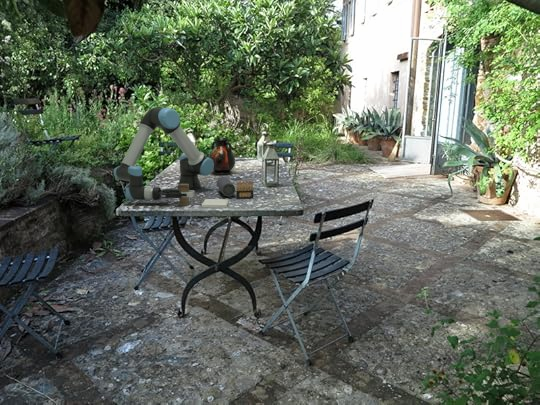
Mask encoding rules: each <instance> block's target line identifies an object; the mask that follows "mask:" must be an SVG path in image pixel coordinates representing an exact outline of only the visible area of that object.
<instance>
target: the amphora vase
mask: <svg viewBox="0 0 540 405" xmlns="http://www.w3.org/2000/svg"><path fill="white" fill-rule="evenodd" d="M212 140H213V142H212V144H211V151H210V153H209V154H208V158H210V159H212V160H213V162H214V169H213V171H212V173H211V174H212V175H214V176H229V175H232V174H233V171H232V170H233V169H234V168H235V166H236V157H235V154H234V152H233V150H232V145H231V142H229V141H230V138H228V137H215V138H213V139H212Z"/></svg>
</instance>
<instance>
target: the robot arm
mask: <svg viewBox="0 0 540 405" xmlns="http://www.w3.org/2000/svg"><path fill="white" fill-rule="evenodd" d="M180 117H181V116H180V113H178V111H176V109H174V108H170V107H152V108H150V109H149V110H148V111H147V112H146V113H145V114H143V116H142V118H141V120H140V122H139V124H138V126H139V127H138V129H137V131H136V134H135V135H134V137H133V139H132V142H131V143H130V145H129V148H128V149H127V151H126V153H125V155H124V158H123V159H122V161H121V163H120V165H119V166H116V167H115V168H114V169H113V176H114V177H115V178H116V179H118V180H122V181H125V182H128V183H129V185H128V186H127V187H126V188H125V194H124V195H125V197H126V199H127V200H133V201H138V200H139V201H140V200H141V201H143V200H144V201H146V200H147V201H149V202H150V201H152V200H153V201H160V200H161V199H179V197H180V199H181V197H189V198H193V197H194V196H195V190H198V189H201V186H202V185H201V182H200V179H199V175H200V176H209V175H211V174H212V171H213V169H214V162H213V160H212V159H210V158H209V157H207V156H206V154H205V153H204V152H203V151H200V150H199V148H197V147H196V145H195V144H194V142H193V141H192V140H191V138H190V137H189V136H188V134H187V133H186V132H185V130H184V129H183V128H182V126H181V120H180ZM157 128H159V129H160V130H162V132H163V133H164V135H169V136H170V138H171V139H172V140H173V141H174V142H175V144H176V145H177V147H178V148H179V149H180V150H181V151H182V153H183V154H181V155H180V156H179V175H180V176H179V182H178V184H177V188H178V189H174V188H173V189H172V188H171V189H168V188H166V189H163V190H162V189H161V187H160V186H144V183H143V170H142V167H141V166H140V165H137V162H138V160H139V158H140V156H141V155H142V152H143V151H144V148H145V146H146V144H147V142H148V140H149V138H150V136H151V135H152V133H154V132H155V130H156V129H157ZM179 184H189V192H181V193H179Z"/></svg>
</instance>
